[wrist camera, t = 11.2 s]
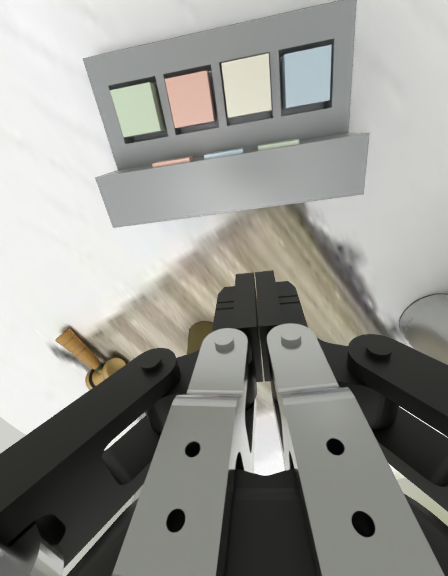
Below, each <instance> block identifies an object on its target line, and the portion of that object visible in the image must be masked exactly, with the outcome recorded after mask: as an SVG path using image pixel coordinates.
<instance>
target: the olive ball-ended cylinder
mask: <svg viewBox="0 0 448 576" xmlns="http://www.w3.org/2000/svg"><path fill="white" fill-rule="evenodd" d="M212 328H213V323H212V322H207V321H203V322H198V323H195V324H194V325H193V326H192V327H191V328H190V330H189V337H188V350H187V355H188V354H191V353H193V352H196V351H198V350H199V349H200V348H201V345H202V342H203V340H204V339H205V338H206V337H207V336H208V335H209V334H210V333H212Z"/></svg>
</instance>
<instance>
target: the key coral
mask: <svg viewBox="0 0 448 576" xmlns="http://www.w3.org/2000/svg"><path fill="white" fill-rule="evenodd" d="M165 83H166V88H167V92H168V97H169V102H170V107H171V112H172V117H173V121H174V126H175V128H184V127H189V126H195V125H200V124H206V123H211V122H216V116H215V109H214V102H213V95H212V88H211V81H210V75H209V73H208V72H207V70H206V71H201V72H196V73H192V74H187V75H182V76H177V77H172V78H167V79H165Z"/></svg>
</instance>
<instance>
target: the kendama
mask: <svg viewBox="0 0 448 576" xmlns="http://www.w3.org/2000/svg"><path fill="white" fill-rule="evenodd" d="M55 341H56V342H58V343H59V344H60V345H62V346H63V347H65V348H66V349H67V350H68V351H70V352H72V354H73V355H75V356H76V357H77V358H78V359H80V360H81V361H82V362H84V363H85V364H87V365H88V366H90V367H91V368H93V369H91V370H90V371H89V372H88V373H87V376H86V380H85V381H86V386H87V387H88V389H89V390H91V389H92V388H94V387H95V386H97V385H98V384H99V383H101V382H102V381H104V380H105V379H106V378H108V377H109V376H111V375H112V374H113V373H115V372H116V371H118V370H119V369H121V368H122V367H123V366H125V365H126V363H125V362H124V361H123V360H122V359H120V358H112V359H110V360H108V361H107V362H106V363H105V364H104V366H103V365H102V363H101V362H100V361H99V360H98V358H97V357H96V356H95V355H94V354H93V352H92V351H91V350H90V349H89V348H88V347H86V345H85V344H84V343H83V342H82V341H81V340H80V339H79V338H78V337H77V336H76V335H75V333H74V332H73V331H72V330H71V329H70V328H69V329H67V330H66V331H65V332H64V333H63V334H62V335H60V336H59V337H58V338H57V339H56V340H55Z"/></svg>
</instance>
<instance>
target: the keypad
mask: <svg viewBox="0 0 448 576" xmlns="http://www.w3.org/2000/svg"><path fill="white" fill-rule="evenodd" d="M356 3H357V0H339V1H335V2H330V3H326V4H321V5H317V6H313V7H308V8H304V9H299V10H295V11H290V12H286V13H282V14H277V15H273V16H268V17H264V18H259V19H255V20H251V21H246V22H242V23H237V24H233V25H229V26H224V27H220V28H215V29H211V30H206V31H202V32H198V33H193V34H189V35H184V36H180V37H176V38H171V39H167V40H162V41H158V42H153V43H149V44H145V45H140V46H136V47H131V48H127V49H122V50H118V51H114V52H109V53H105V54H100V55H96V56H92V57H87V58H83V61H84V64H85V68H86V71H87V74H88V77H89V80H90V83H91V87H92V90H93V93H94V96H95V99H96V102H97V105H98V109H99V112H100V115H101V118H102V121H103V124H104V128H105V131H106V134H107V137H108V140H109V143H110V146H111V150H112V153H113V156H114V159H115V162H116V165H117V169H118V170H117V171H114V172H111V173H108V174H105V175H102V176H99V177H96V178H95V179H96V182H97V184H98V187H99V190H100V193H101V195H102V198H103V201H104V204H105V207H106V209H107V212H108V215H109V218H110V221H111V223H112V226H113V228H116V227H123V226H131V225H138V224H146V223H153V222H160V221H168V220H175V219H183V218H190V217H198V216H205V215H213V214H220V213H227V212H235V211H242V210H250V209H257V208H265V207H272V206H280V205H287V204H294V203H302V202H309V201H317V200H324V199H332V198H339V197H346V196H354V195H361V194H364V184H365V174H366V164H367V154H368V143H369V133H350V132H348V129H349V113H350V97H351V82H352V66H353V50H354V35H355V19H356ZM327 45H332V47H331V77H330V100H329V101H326V102H323V103H317V104H311V105H306V106H300V107H295V108H289V109H284V110H283V96H282V69H281V60H282V58H283V56H284V54H289V53H293V52H298V51H303V50H308V49H313V48H318V47H322V46H327ZM267 53H269V69H270V87H271V105H272V110H271V111H269V112H263V113H258V114H252V115H247V116H241V117H235V118H230V119H229V118H228V113H227V105H226V97H225V89H224V81H223V72H222V64H221V63H224V62H229V61H234V60H239V59H243V58H248V57H253V56H258V55H263V54H267ZM206 70H207V72H208V73H209V75H210V81H211V88H212V95H213V102H214V109H215V116H216V122H211V123H206V124H200V125H195V126H189V127H184V128H175V126H174V121H173V117H172V112H171V107H170V102H169V97H168V92H167V88H166V83H165V79H167V78H172V77H177V76H182V75H187V74H192V73H196V72H201V71H206ZM148 82H150V83H152V84H154V85H156V86H157V89H158V93H159V98H160V102H161V107H162V111H163V116H164V120H165V125H166V130H167V131H161V132H156V133H150V134H145V135H139V136H134V137H123V134H122V130H121V127H120V123H119V120H118V117H117V113H116V110H115V106H114V103H113V99H112V96H111V93H110V90H114V89H119V88H124V87H129V86H133V85H138V84H143V83H148Z"/></svg>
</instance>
